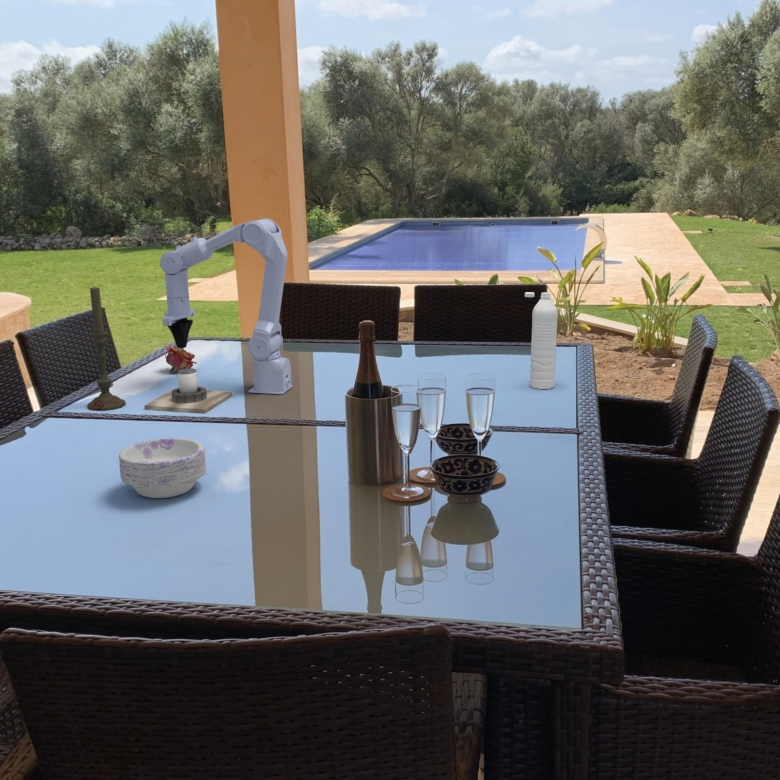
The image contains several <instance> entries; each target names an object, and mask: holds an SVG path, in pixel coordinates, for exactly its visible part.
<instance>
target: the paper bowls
mask: <svg viewBox="0 0 780 780" xmlns="http://www.w3.org/2000/svg"><path fill="white" fill-rule="evenodd" d="M118 460H119V464H118V465H119V466H118V467H119V474H120V480H121V482H122V483H124V484H125V485H128V486H130V487H132V488H133V489H134V490H135V491H136V493H137V494H138V495H140V496H143V497H146V498H150V499H167V498H168V499H169V498H174V497H177V496H181V495H184V494H186V493H188V492H189V491H190V490H192V489H193V488H194V486H195V483H196V481H197V480H199V479H201V478H202V477H203V476H205V474H206V472H207V467H206V466H207V463H206V449H205V446H204V444H203V443H202V442H200V441H198V440H196V439H191V438H190V439H189V438H183V437H171V438H170V437H166V438H155V439H150V440H149V439H148V440H144V441H139V442H137V443H133V444H131V445H129V446H126V447H124V448H123V449H122V450H120V452H119V455H118Z"/></svg>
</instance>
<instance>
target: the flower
mask: <svg viewBox="0 0 780 780" xmlns="http://www.w3.org/2000/svg"><path fill="white" fill-rule="evenodd" d="M164 347H165V349H166V350H167V354H166V353H165V352H163V354H164V358H165V362H166V363H167V364H168V365H169V366H171V368H170V370H169V373H171V374H173V372H174V371H175V370H176V371H177V372H178V371H179V370H181V369H192V368H193V367H194V364H195V365H197V361H194V360H193V359H195V358H196V356H195V354H193V353H191V352H189V351H188V350H186V349H185V348H177V346H175V345H173V344H172V345H171V344H168V346H166V345H165V346H164Z"/></svg>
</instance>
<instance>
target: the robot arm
mask: <svg viewBox="0 0 780 780" xmlns="http://www.w3.org/2000/svg"><path fill="white" fill-rule="evenodd" d="M236 242H237V243H240V244H241V243H245V244H246V245H247V246H249V247H251V248H252V249H254V250H256V251H257V252H258V253H259V254H260V255H261V256H262V257H263V258H264V260H265V267H264V273H263V280H262V281H263V282H262V289H261V296H260V302H259V303H260V305H259V310H258V320H257V322H256V324H255V325H254V328H253V333H252V336H251V338H250V339H249V341H248V342H247V349H248V351H249V354H250V355H251V356H252V372H253V376H252V377H253V387H251V388H250V389H249V390H248V393H249V394H250V393H252V394H253V393H255V394H266V395H267V394H269V395H270V394H271V395H283V394H285V393H286V392H287V391H289V390H290V389H292V388H293V385H292V367H291V361H290V359H289V358H287V357H282V356H281V352H280V349H281V348H282V347H283V343H284V339H283V336H282V325H281V323H280V322H279V321H280V314H281V306H282V299H283V292H284V284H285V280H286V279H285V278H286V272H287V271H286V270H287V264H288V263H287V262H288V257H289V256H288V250H287V249H286V248H287V247H286V245H285V242H284V239H283V237H282V229H281V228H280V227H279V225H278V224H277V223H276V222H275V221H274V220H272V219H271V218H266V217H264V218H261V219H257V220H249V221H247V222H244V223H240V224H237V225H233V226H231V227H229V228H228V229H225V230H224V231H222V232H220V233H218V234H215V236H213V237H210V238H207V239H205V238H202V237H193V238H191V239H190V241H189V242H188V243H185V244H184V245H182V246H181V245H177V246H176V247H175V250H172V251H171V250H168V251H165V253H163V254H162V255H161V256H160V259H159V266H160V268H161V270H162V271H163V272H164V281H165V292H166V293H165V294H166V305H167V312H165V313H164V314H163V316H164V317H163V318H162V326H166V327H168V329H169V331H170V332H171V334H172V337H173V339H174V342H175V347H176V348H177V349H178V348H183V349H185V348H187V345H188V340H189V333H190V330H191V327H192V326H193V324H194V321H193V319H188V318H191V317H196V309H195V308H191V307H190V305H191V304H190V293H189V290H190V289H189V277H188V274H189V273H188V270H189V269H190V268H192V267H195V266H196V265H199V264H200V263H203V262H205V261H208V260H210V259H211V257H212V255H213V253H214V251H217V250H219V249H222V248H224V247H225V246H228V245H231V244H233V243H236Z"/></svg>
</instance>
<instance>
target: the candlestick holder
mask: <svg viewBox="0 0 780 780" xmlns="http://www.w3.org/2000/svg"><path fill="white" fill-rule="evenodd" d="M92 286H93V287H91V288H89V292H90V293H89V294H90V302H91V311H92V322H93V329H94V331H92V332H91V333H90V335H91V336H92V337H93V339H92V343H93V344H94V346H96V347H97V352H96V357H97V359H98V366H99V367H98V369H99V372H100V375H99V377H98V379H97V380H96V383H97V386H98V388H99V389H100V393H99V395H98V396H97V397H94V398H93V399H92V400H91V401H89V402H88V403H87V406H86V407H87V409H89V410H90V411H95V412H98V411H99V412H100V411H101V412H106V411H112V410H118V409H120V408H123V407H124V406H126V404H127V403H126V400H125V399H123V398H120V397H119V396H118V395H115V394H113V393H112V392H110V387H111V386H112V382H113V381H112V379H111V378H110V377H108V374H107V366H106V365H107V363H106V357H107V354H106V349H105V345H106V344H108V339H107V335H108V331H107V330H105V328H104V320H103V311H102V300H101V299H102V298H101V291H100V287H95V286H94V285H92Z"/></svg>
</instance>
